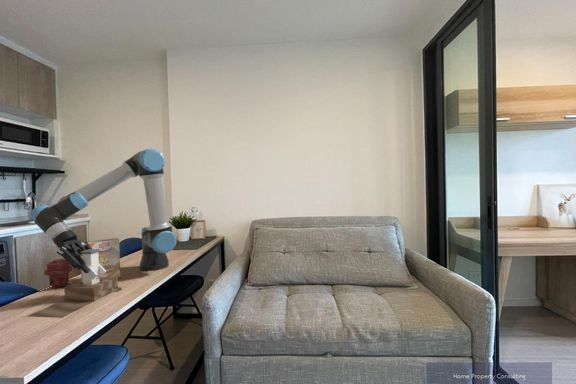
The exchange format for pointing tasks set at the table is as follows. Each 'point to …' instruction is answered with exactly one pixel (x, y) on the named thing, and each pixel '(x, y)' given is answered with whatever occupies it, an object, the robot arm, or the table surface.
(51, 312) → the wooden socket base
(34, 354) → the table surface
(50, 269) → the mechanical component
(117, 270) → the coffeecake box
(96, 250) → the post
